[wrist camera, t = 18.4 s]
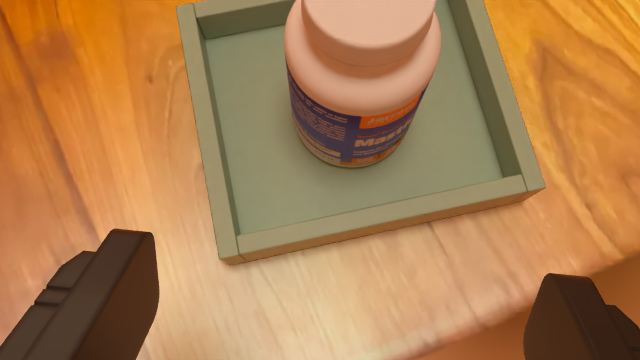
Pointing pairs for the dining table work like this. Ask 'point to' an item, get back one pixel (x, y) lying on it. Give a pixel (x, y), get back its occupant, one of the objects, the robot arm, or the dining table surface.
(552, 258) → the dining table surface
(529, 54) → the dining table surface
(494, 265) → the dining table surface
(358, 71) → the pill bottle
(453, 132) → the tray
